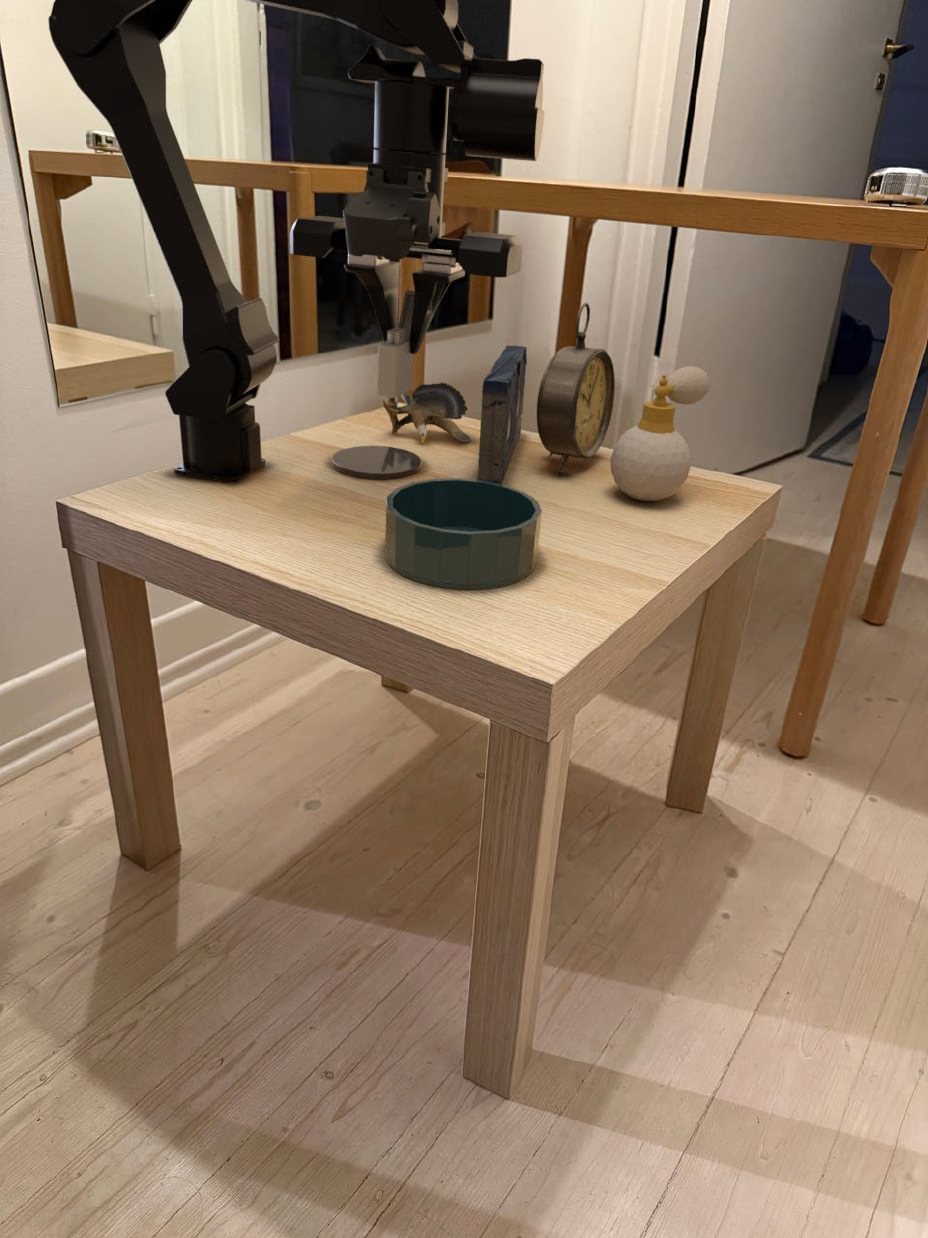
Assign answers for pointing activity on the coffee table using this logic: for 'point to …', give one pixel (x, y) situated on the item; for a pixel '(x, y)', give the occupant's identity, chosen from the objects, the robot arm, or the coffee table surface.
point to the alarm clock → (576, 399)
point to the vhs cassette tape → (501, 413)
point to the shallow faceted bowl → (461, 533)
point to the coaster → (376, 462)
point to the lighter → (397, 355)
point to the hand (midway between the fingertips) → (402, 351)
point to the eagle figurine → (430, 410)
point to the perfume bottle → (658, 441)
